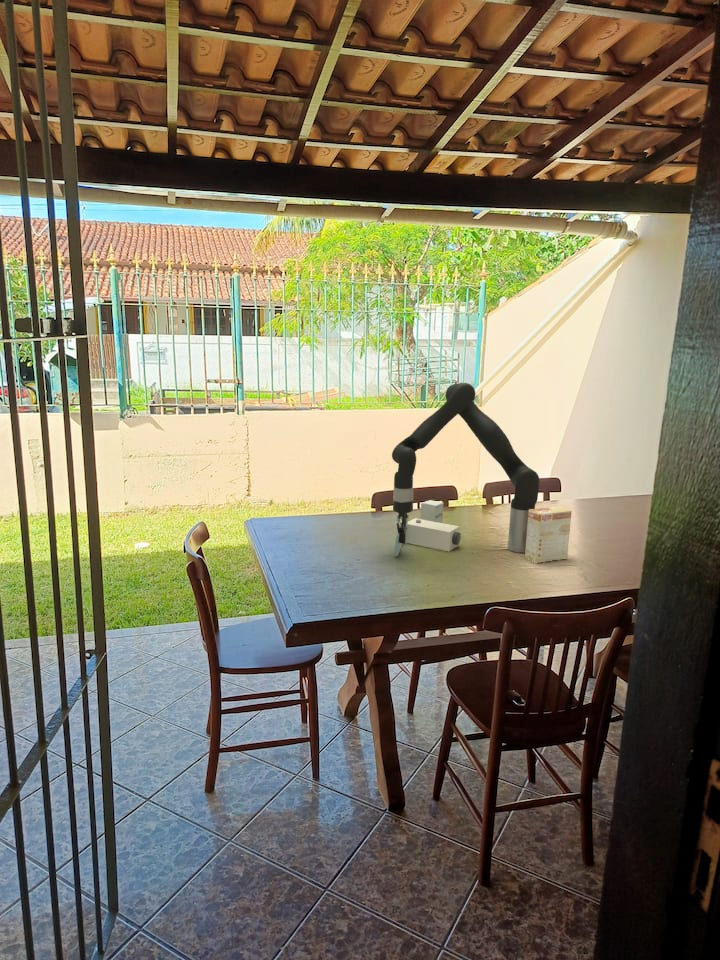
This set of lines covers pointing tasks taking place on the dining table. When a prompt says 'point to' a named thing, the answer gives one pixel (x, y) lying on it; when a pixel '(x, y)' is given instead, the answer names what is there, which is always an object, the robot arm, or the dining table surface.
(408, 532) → the camera housing
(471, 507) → the dining table surface
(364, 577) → the dining table surface
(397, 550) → the door
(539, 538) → the coffeecake box
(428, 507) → the supplement box
